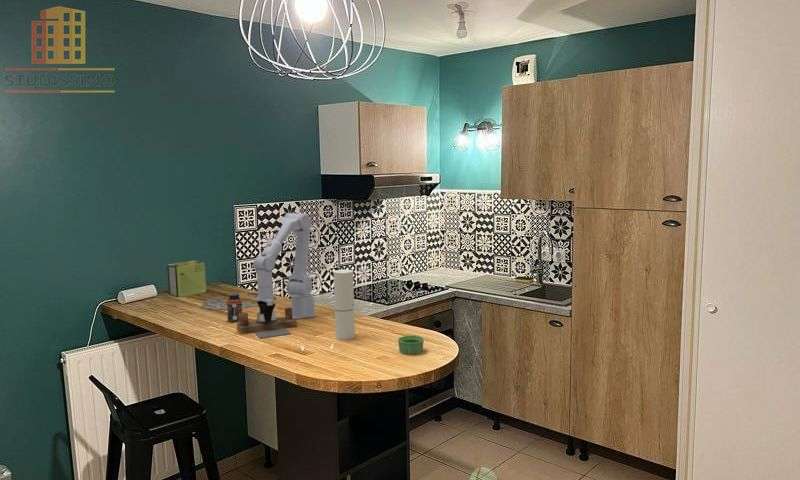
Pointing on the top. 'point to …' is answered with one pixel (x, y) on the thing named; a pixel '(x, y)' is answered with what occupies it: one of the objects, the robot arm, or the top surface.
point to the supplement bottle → (234, 307)
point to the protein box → (186, 278)
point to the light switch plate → (261, 316)
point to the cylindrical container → (344, 304)
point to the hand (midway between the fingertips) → (266, 319)
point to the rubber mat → (272, 333)
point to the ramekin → (411, 344)
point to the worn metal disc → (218, 304)
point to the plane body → (265, 323)
